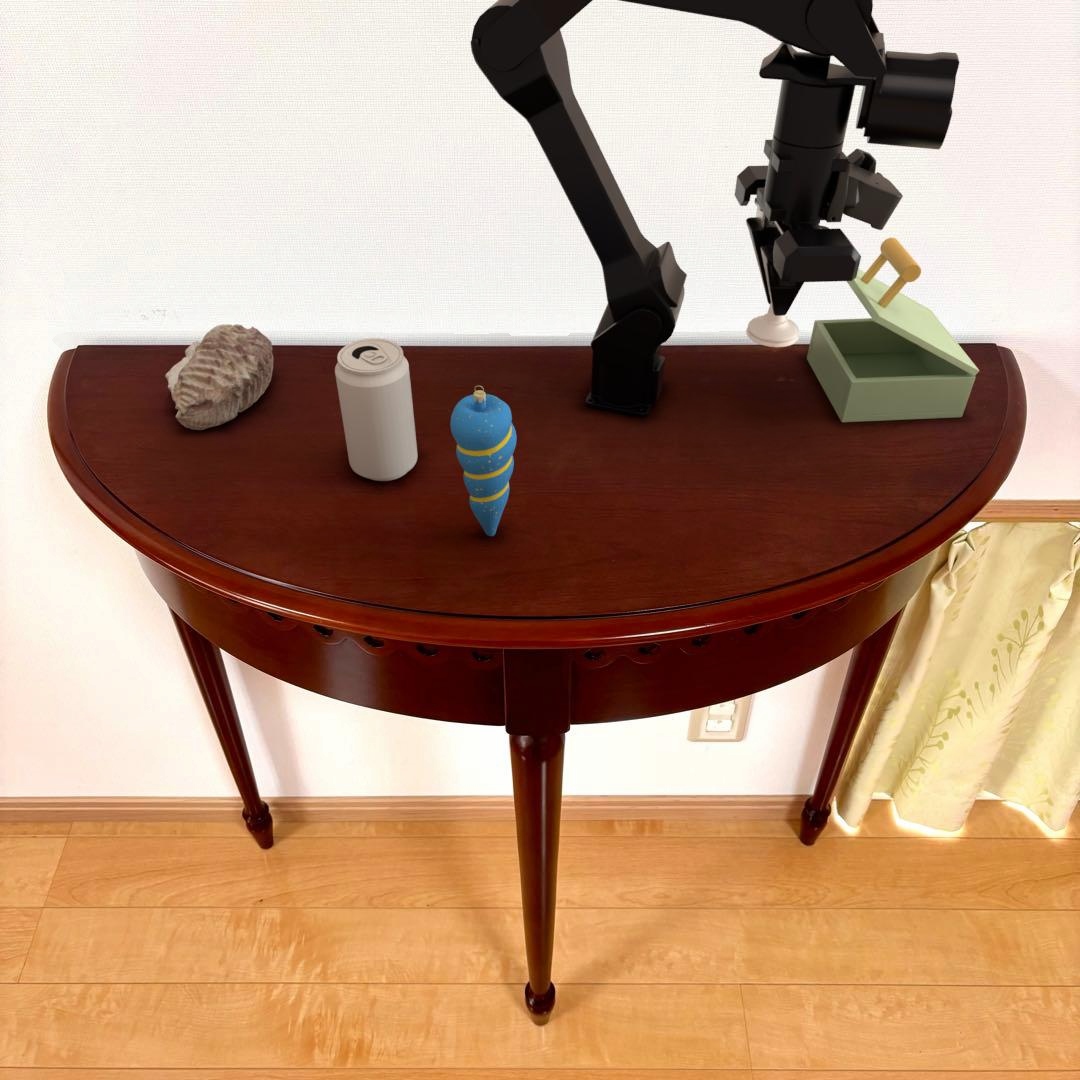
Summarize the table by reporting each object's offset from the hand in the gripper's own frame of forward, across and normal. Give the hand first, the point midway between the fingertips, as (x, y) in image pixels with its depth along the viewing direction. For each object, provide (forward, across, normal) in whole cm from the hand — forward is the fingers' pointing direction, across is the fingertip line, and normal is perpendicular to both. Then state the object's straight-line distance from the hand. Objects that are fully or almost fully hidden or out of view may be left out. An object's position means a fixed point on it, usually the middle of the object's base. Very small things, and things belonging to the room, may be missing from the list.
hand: (776, 309), depth 89 cm
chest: (+12, +4, -14) cm, 19 cm away
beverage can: (+12, -6, +37) cm, 39 cm away
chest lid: (+4, +4, -14) cm, 16 cm away
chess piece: (+3, 0, 0) cm, 3 cm away
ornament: (+12, -17, +28) cm, 34 cm away
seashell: (+12, +7, +54) cm, 56 cm away
